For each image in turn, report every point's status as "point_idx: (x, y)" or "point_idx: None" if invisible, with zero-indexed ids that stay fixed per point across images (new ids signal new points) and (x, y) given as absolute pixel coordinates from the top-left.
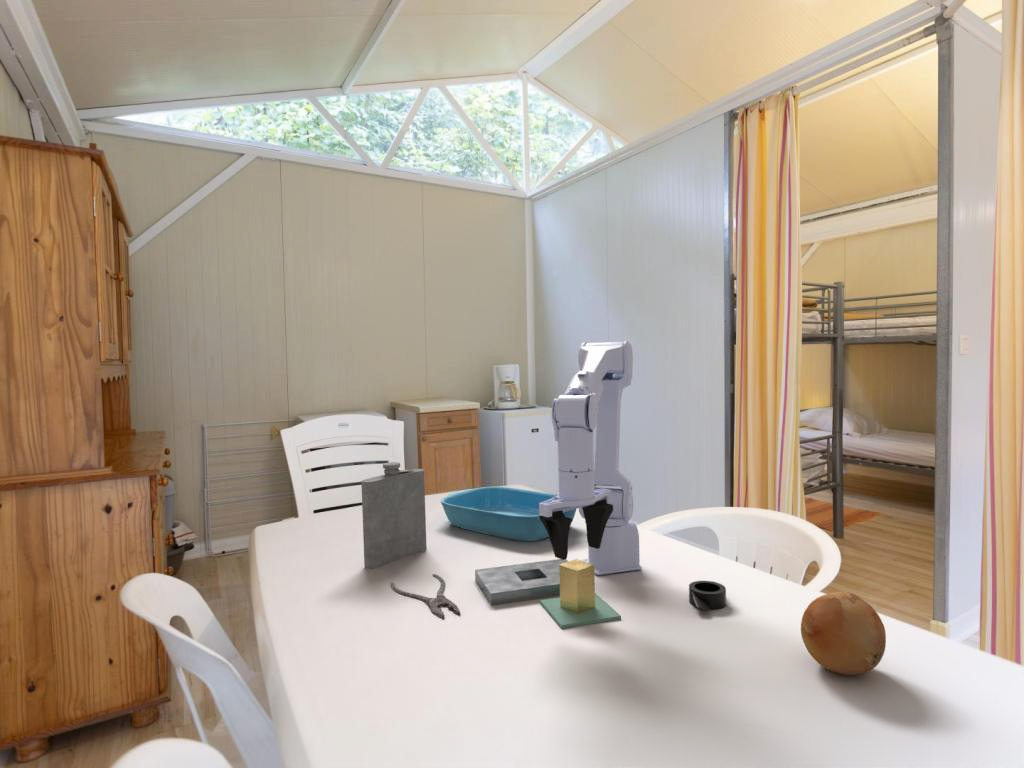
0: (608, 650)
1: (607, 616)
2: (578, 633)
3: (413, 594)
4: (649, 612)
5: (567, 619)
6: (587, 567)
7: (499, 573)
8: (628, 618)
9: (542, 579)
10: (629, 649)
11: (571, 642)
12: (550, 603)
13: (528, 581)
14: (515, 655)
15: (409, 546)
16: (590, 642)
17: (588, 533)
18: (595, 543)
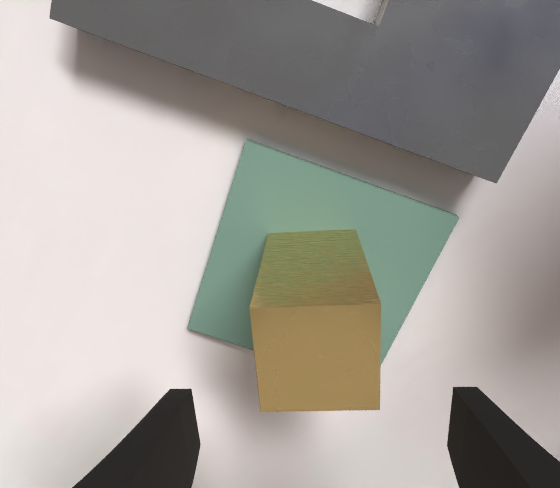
0: (215, 457)
1: None
2: (211, 367)
3: None
4: None
5: (226, 313)
6: (331, 410)
7: None
8: (386, 390)
9: (340, 32)
10: (257, 479)
11: (166, 387)
12: (258, 190)
13: (270, 8)
14: (11, 353)
15: None
16: (205, 413)
17: (491, 450)
18: (458, 458)
